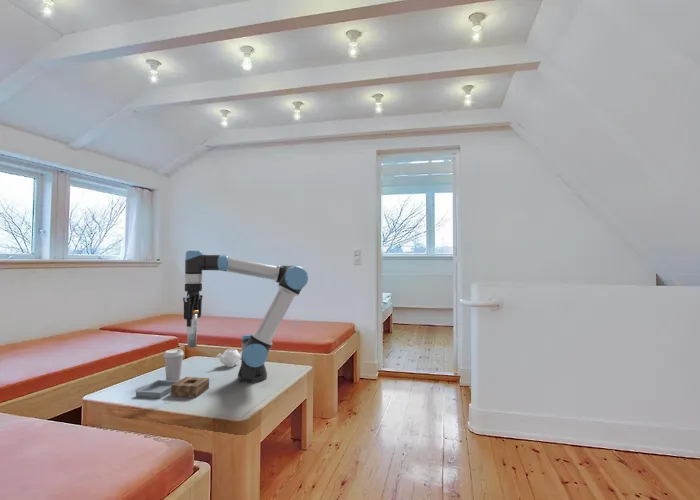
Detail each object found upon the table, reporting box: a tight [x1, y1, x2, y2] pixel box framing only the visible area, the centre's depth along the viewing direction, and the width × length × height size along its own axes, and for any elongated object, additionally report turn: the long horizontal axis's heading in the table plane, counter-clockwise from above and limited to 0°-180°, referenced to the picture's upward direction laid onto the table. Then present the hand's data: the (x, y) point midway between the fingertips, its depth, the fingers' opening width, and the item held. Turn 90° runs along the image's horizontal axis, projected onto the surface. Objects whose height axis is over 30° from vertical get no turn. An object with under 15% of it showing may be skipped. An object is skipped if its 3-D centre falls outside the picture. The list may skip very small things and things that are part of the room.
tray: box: [135, 379, 178, 399], centre depth 172 cm, size 12×16×2 cm
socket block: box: [170, 376, 210, 399], centre depth 171 cm, size 12×12×5 cm
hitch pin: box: [186, 310, 199, 348], centre depth 172 cm, size 5×5×17 cm
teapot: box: [215, 348, 242, 368], centre depth 215 cm, size 10×20×9 cm, turn 140°
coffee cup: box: [163, 348, 185, 381], centre depth 188 cm, size 10×10×15 cm
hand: (192, 332), depth 172 cm, fingers closed on hitch pin, 4 cm apart
